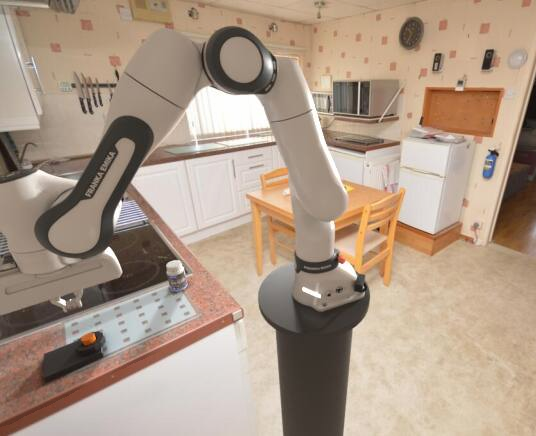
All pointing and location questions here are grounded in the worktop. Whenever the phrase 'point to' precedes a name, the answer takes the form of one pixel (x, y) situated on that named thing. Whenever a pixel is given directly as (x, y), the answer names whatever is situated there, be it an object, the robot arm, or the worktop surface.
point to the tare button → (88, 339)
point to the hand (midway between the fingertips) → (73, 308)
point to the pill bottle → (176, 275)
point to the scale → (72, 357)
